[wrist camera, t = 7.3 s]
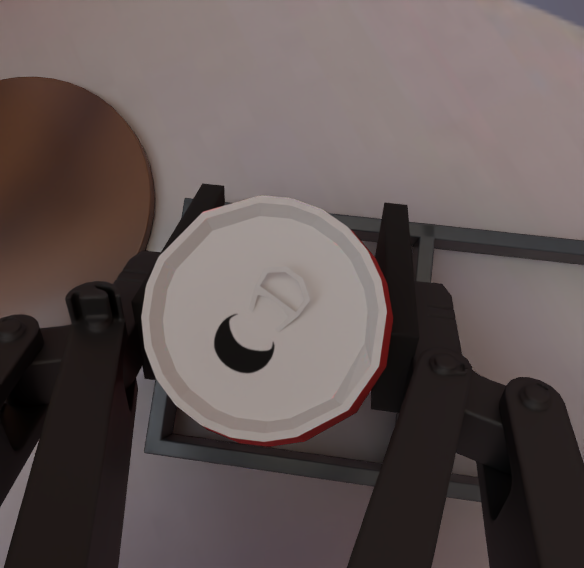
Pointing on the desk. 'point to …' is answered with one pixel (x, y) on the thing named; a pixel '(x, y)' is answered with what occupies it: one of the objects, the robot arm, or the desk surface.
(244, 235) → the soda can
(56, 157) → the coaster
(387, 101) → the desk surface
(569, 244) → the rack
